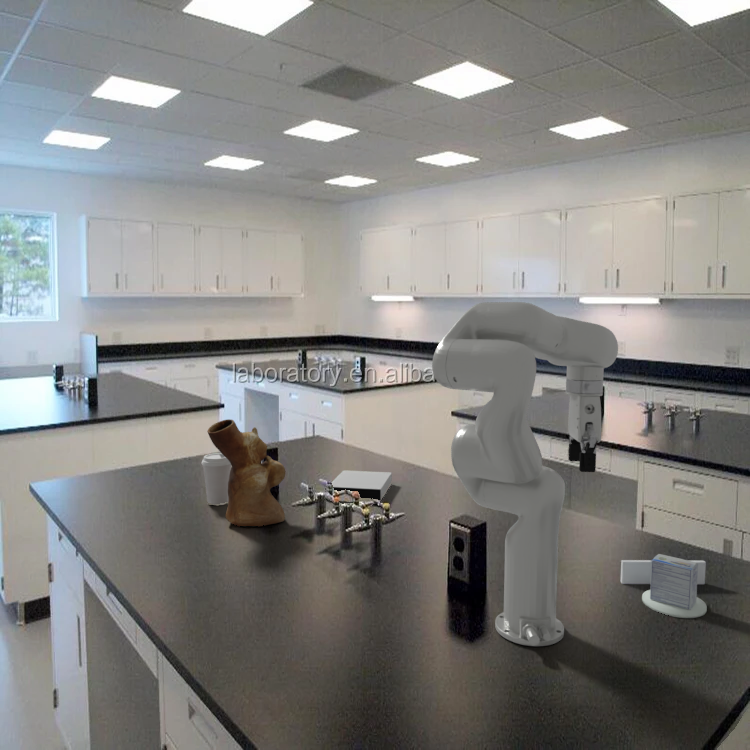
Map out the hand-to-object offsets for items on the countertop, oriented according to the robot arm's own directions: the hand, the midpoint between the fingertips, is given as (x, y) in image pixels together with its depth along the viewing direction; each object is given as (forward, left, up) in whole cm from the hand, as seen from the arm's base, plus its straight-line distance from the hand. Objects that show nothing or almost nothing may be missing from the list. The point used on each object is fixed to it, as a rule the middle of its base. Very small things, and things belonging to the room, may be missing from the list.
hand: (581, 466), depth 138 cm
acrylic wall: (0, -19, -26) cm, 32 cm away
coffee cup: (+57, +94, -26) cm, 113 cm away
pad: (-10, -17, -26) cm, 33 cm away
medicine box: (-10, -16, -26) cm, 32 cm away
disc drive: (+69, +51, -27) cm, 90 cm away
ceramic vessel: (+39, +81, -26) cm, 94 cm away
